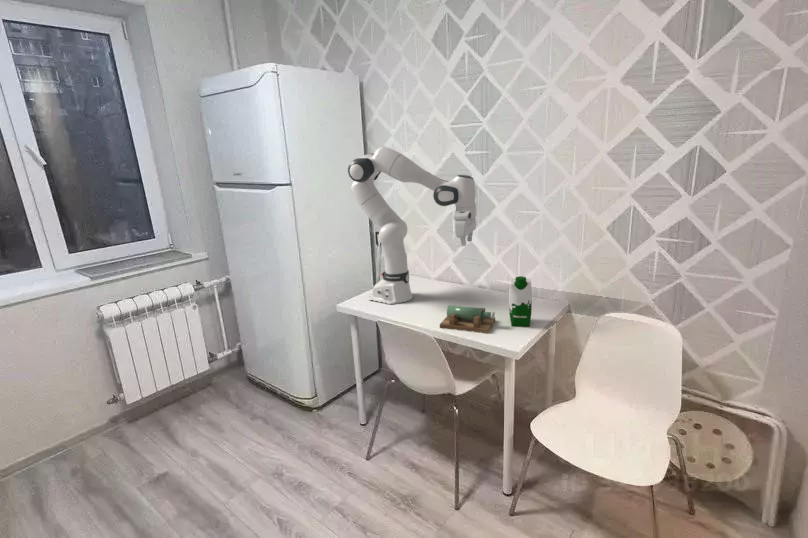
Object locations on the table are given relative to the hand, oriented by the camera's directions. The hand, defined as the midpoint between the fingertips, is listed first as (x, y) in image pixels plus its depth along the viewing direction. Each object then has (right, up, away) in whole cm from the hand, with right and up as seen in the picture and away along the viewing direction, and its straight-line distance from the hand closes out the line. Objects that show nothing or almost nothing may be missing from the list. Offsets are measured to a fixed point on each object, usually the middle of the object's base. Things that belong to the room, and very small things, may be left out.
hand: (466, 243), depth 187 cm
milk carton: (+19, -34, -16) cm, 42 cm away
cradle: (-2, -34, -14) cm, 37 cm away
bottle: (-1, -31, -17) cm, 36 cm away
